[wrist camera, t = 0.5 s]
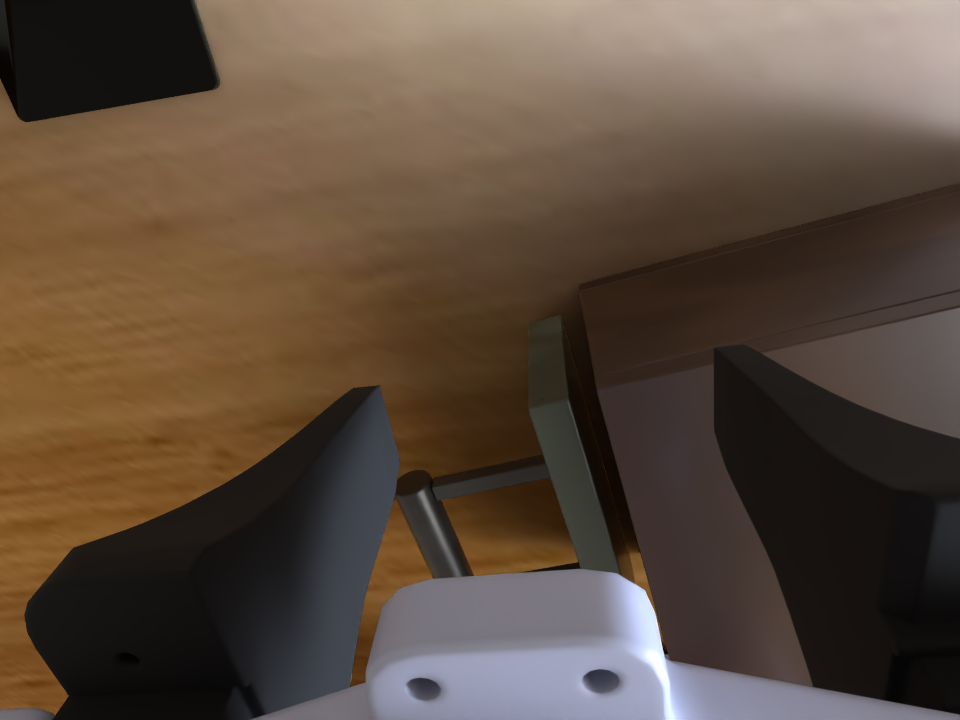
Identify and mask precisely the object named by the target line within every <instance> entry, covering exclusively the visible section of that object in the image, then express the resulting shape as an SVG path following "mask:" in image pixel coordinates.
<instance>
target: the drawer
mask: <svg viewBox="0 0 960 720" xmlns="http://www.w3.org/2000/svg"><path fill="white" fill-rule="evenodd" d="M528 411H529V414H530V417H531V420H532V423H533V426H534V429H535V432H536V435H537V438H538V441H539V445H540V448H541V451H542V454H543V455H538V456H533V457H529V458H524V459H519V460H515V461H510V462H505V463H501V464H496V465H491V466H487V467H482V468H477V469H473V470H468V471H463V472H459V473H454V474H449V475H444V476H440V477H435V478H434V479H433V480H432V478H431V475H430V474H429V473H428V472H427V471H424V470H414V471H411V472H408V473H406V474H404V475H402V476H401V477H400V478H399V479H397V485H396V491H395V499H396V501H397V503H398V505H399V507H400V509H401V511H402V513H403V515H404V518H405V520H406V522H407V524H408V526H409V528H410V530H411V532H412V535H413V537H414V539H415V541H416V543H417V545H418V547H419V549H420V551H421V554H422V556H423V558H424V560H425V562H426V564H427V566H428V568H429V570H430V573H431V575H432V577H433V579H439V578H454V577H468V576H474V575H473V572H472V570H471V568H470V565H469V563H468V561H467V558H466V556H465V554H464V552H463V549H462V547H461V545H460V542H459V540H458V538H457V535H456V533H455V531H454V529H453V526H452V524H451V522H450V519H449V517H448V515H447V512H446V510H445V508H444V505H443V503H442V501H441V500H444V499H449V498H454V497H459V496H463V495H468V494H473V493H478V492H483V491H488V490H492V489H497V488H502V487H507V486H512V485H517V484H522V483H526V482H531V481H536V480H541V479H546V478H551V481H552V484H553V487H554V490H555V493H556V496H557V499H558V502H559V505H560V508H561V511H562V514H563V517H564V520H565V523H566V526H567V529H568V532H569V535H570V538H571V541H572V544H573V547H574V550H575V553H576V556H577V559H578V562H577V563H571V564H566V565H560V566H555V567H549V568H543V569H538V570H532V571H526V572H521V573H527V572H541V571H556V570H570V569H587V570H595V571H603V572H611V573H617V574H619V575H620V576H622V577H624V578H625V579H627V580H629V581H630V582H632V583H634V584H635V580H634V574H633V569H632V563H631V560H630V556H629V553H628V549H627V546H626V542H625V539H624V535H623V532H622V528H621V524H620V521H619V517H618V514H617V510H616V507H615V503H614V500H613V496H612V493H611V489H610V486H609V482H608V479H607V475H606V472H605V468H604V464H603V461H602V457H601V454H600V450H599V447H598V443H597V440H596V436H595V433H594V429H593V426H592V422H591V419H590V415H589V412H588V408H587V404H586V401H585V397H584V394H583V390H582V387H581V383H580V380H579V376H578V373H577V369H576V366H575V362H574V359H573V355H572V352H571V348H570V344H569V341H568V337H567V334H566V330H565V327H564V323H563V320H562V317H561V316H560V315H559V316H555V317H551V318H547V319H543V320H539V321H535V322H531V323H529V338H528Z"/></svg>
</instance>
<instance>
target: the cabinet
mask: <svg viewBox="0 0 960 720" xmlns="http://www.w3.org/2000/svg"><path fill="white" fill-rule="evenodd" d="M579 292H580V298H581V304H582V310H583V316H584V321H585V327H586V333H587V339H588V345H589V351H590V356H591V362H592V368H593V374H594V380H595V386H596V391H597V395H598V399H599V402H600V406H601V410H602V413H603V417H604V421H605V424H606V428H607V432H608V435H609V439H610V443H611V446H612V450H613V454H614V457H615V461H616V465H617V469H618V472H619V476H620V480H621V483H622V487H623V491H624V494H625V498H626V502H627V505H628V509H629V513H630V516H631V520H632V524H633V527H634V531H635V535H636V538H637V542H638V546H639V549H640V553H641V557H642V560H643V564H644V568H645V571H646V575H647V579H648V582H649V586H650V590H651V593H652V597H653V601H654V604H655V608H656V612H657V615H658V619H659V623H660V626H661V630H662V634H663V637H664V641H665V645H666V648H667V652H668V656H669V659H670V660H671V661H676V662H681V663H687V664H692V665H697V666H703V667H708V668H714V669H719V670H724V671H730V672H735V673H740V674H746V675H751V676H756V677H762V678H767V679H772V680H778V681H783V682H788V683H794V684H799V685H804V686H810V687H813V685H812V681H811V678H810V675H809V672H808V668H807V665H806V662H805V659H804V656H803V653H802V650H801V647H800V644H799V641H798V638H797V635H796V632H795V629H794V626H793V623H792V620H791V617H790V614H789V611H788V608H787V605H786V602H785V599H784V596H783V594H782V591H781V588H780V585H779V582H778V579H777V577H776V574H775V571H774V569H773V566H772V564H771V562H770V559H769V557H768V555H767V552H766V550H765V548H764V546H763V544H762V542H761V540H760V538H759V536H758V534H757V532H756V530H755V528H754V526H753V524H752V522H751V519H750V517H749V515H748V513H747V511H746V509H745V507H744V505H743V503H742V501H741V499H740V497H739V495H738V493H737V491H736V489H735V487H734V484H733V482H732V480H731V478H730V476H729V474H728V472H727V470H726V467H725V464H724V461H723V458H722V455H721V452H720V449H719V445H718V442H717V439H716V435H715V432H714V348H716V347H725V346H734V345H743V344H745V345H747V346H749V347H751V348H753V349H755V350H756V351H758V352H760V353H762V354H763V355H765V356H767V357H769V358H770V359H772V360H774V361H775V362H777V363H779V364H780V365H782V366H784V367H786V368H787V369H789V370H791V371H793V372H794V373H796V374H798V375H800V376H801V377H803V378H805V379H807V380H809V381H811V382H812V383H814V384H816V385H818V386H820V387H822V388H824V389H826V390H828V391H830V392H832V393H834V394H836V395H839V396H841V397H843V398H845V399H847V400H849V401H851V402H853V403H856V404H858V405H860V406H863V407H865V408H867V409H870V410H873V411H875V412H878V413H881V414H883V415H886V416H888V417H891V418H894V419H896V420H899V421H902V422H905V423H908V424H911V425H914V426H917V427H921V428H924V429H927V430H931V431H934V432H938V433H941V434H945V435H948V436H952V437H955V438H959V439H960V183H959V184H955V185H952V186H948V187H944V188H940V189H937V190H933V191H929V192H925V193H921V194H918V195H914V196H910V197H906V198H903V199H899V200H895V201H891V202H887V203H884V204H880V205H876V206H872V207H869V208H865V209H861V210H857V211H854V212H850V213H846V214H842V215H838V216H835V217H831V218H827V219H823V220H820V221H816V222H812V223H808V224H805V225H801V226H797V227H793V228H789V229H786V230H782V231H778V232H774V233H771V234H767V235H763V236H759V237H755V238H752V239H748V240H744V241H740V242H737V243H733V244H729V245H725V246H722V247H718V248H714V249H710V250H706V251H703V252H699V253H695V254H691V255H688V256H684V257H680V258H676V259H673V260H669V261H665V262H661V263H657V264H654V265H650V266H646V267H642V268H639V269H635V270H631V271H627V272H623V273H620V274H616V275H612V276H608V277H605V278H601V279H597V280H593V281H590V282H586V283H582V284H579Z"/></svg>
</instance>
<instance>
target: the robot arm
mask: <svg viewBox="0 0 960 720" xmlns="http://www.w3.org/2000/svg"><path fill="white" fill-rule="evenodd" d="M714 432H715V435H716V439H717V442H718V445H719V449H720V452H721V455H722V458H723V461H724V464H725V467H726V470H727V472H728V474H729V476H730V478H731V480H732V482H733V484H734V487H735V489H736V491H737V493H738V495H739V497H740V499H741V501H742V503H743V505H744V507H745V509H746V511H747V513H748V515H749V517H750V519H751V522H752V524H753V526H754V528H755V530H756V532H757V534H758V536H759V538H760V540H761V542H762V544H763V546H764V548H765V550H766V552H767V555H768V557H769V559H770V562H771V564H772V566H773V569H774V571H775V574H776V577H777V579H778V582H779V585H780V588H781V591H782V594H783V596H784V599H785V602H786V605H787V608H788V611H789V614H790V617H791V620H792V623H793V626H794V629H795V632H796V635H797V638H798V641H799V644H800V647H801V650H802V653H803V656H804V659H805V662H806V665H807V668H808V672H809V675H810V678H811V681H812V685H813V687H810V686H804V685H799V684H794V683H788V682H783V681H778V680H772V679H767V678H762V677H756V676H751V675H746V674H740V673H735V672H730V671H724V670H719V669H714V668H708V667H703V666H697V665H692V664H687V663H681V662H676V661H671V660H670V659H669V656H668V654H666V655H664V653H663V648H662V643H661V638H660V633H659V628H658V624H657V619H656V614H655V612H654V610H653V607H652V605H651V603H650V601H649V599H648V597H647V594H646V592H645V590H643V589H642V588H640V587H639V586H637V585H635V584H634V583H632V582H630V581H629V580H627V579H625V578H624V577H622V576H620V575H619V574H617V573H611V572H603V571H595V570H587V569H570V570H556V571H541V572H527V573H512V574H497V575H483V576H468V577H454V578H439V579H430V580H426V581H423V582H419V583H416V584H412V585H409V586H405V587H402V588H400V589H399V590H398V591H397V592H396V593H395V594H394V595H393V596H392V597H391V598H390V599H389V600H388V601H387V602H386V603H385V604H384V605H383V606H382V609H381V613H380V617H379V621H378V625H377V629H376V633H375V637H374V641H373V645H372V649H371V653H370V657H369V661H368V665H367V669H366V682H365V683H362V684H359V685H356V686H353V687H350V682H351V676H352V670H353V663H354V657H355V651H356V644H357V638H358V633H359V627H360V622H361V616H362V611H363V606H364V600H365V596H366V592H367V588H368V584H369V580H370V577H371V573H372V570H373V567H374V564H375V560H376V557H377V554H378V551H379V547H380V544H381V541H382V538H383V534H384V531H385V528H386V525H387V521H388V518H389V515H390V511H391V508H392V504H393V501H394V497H395V491H396V485H397V478H398V471H399V463H400V458H399V454H398V451H397V447H396V443H395V440H394V436H393V432H392V429H391V425H390V422H389V418H388V414H387V411H386V407H385V403H384V400H383V396H382V392H381V389H380V385H377V386H368V387H359V388H353V389H351V390H350V391H348V392H347V393H346V394H344V395H343V396H342V397H340V398H339V399H338V400H337V401H335V402H334V403H333V404H332V405H331V406H329V407H328V408H327V409H326V410H325V411H323V412H322V413H321V414H320V415H319V416H318V417H316V418H315V419H314V420H313V421H312V422H310V423H309V424H308V425H307V426H306V427H304V428H303V429H302V430H301V431H299V432H298V433H297V434H296V435H294V436H293V437H292V438H290V439H289V440H288V441H286V442H285V443H284V444H283V445H281V446H280V447H279V448H277V449H276V450H275V451H273V452H272V453H271V454H269V455H268V456H267V457H265V458H264V459H262V460H261V461H260V462H258V463H257V464H255V465H254V466H252V467H251V468H249V469H248V470H246V471H244V472H243V473H241V474H240V475H238V476H236V477H235V478H233V479H232V480H230V481H228V482H226V483H225V484H223V485H221V486H219V487H217V488H215V489H214V490H212V491H210V492H208V493H206V494H204V495H202V496H200V497H198V498H197V499H195V500H193V501H191V502H189V503H187V504H185V505H183V506H181V507H179V508H176V509H174V510H172V511H170V512H168V513H166V514H163V515H161V516H159V517H156V518H154V519H151V520H149V521H147V522H144V523H142V524H139V525H137V526H134V527H132V528H129V529H127V530H124V531H121V532H118V533H115V534H112V535H109V536H107V537H104V538H101V539H98V540H95V541H92V542H89V543H86V544H83V545H80V546H77V547H74V548H73V549H72V550H71V551H70V552H69V553H68V555H67V556H66V557H65V558H64V559H63V561H62V562H61V563H60V564H59V565H58V567H57V568H56V569H55V570H54V571H53V572H52V574H51V575H50V576H49V577H48V578H47V580H46V581H45V582H44V583H43V584H42V586H41V587H40V588H39V589H38V590H37V592H36V593H35V594H34V595H33V596H32V598H31V599H30V600H29V601H28V603H27V607H26V611H25V615H24V616H25V622H26V629H27V632H28V635H29V637H30V639H31V641H32V642H33V644H34V646H35V648H36V650H37V651H38V652H39V654H40V655H41V657H42V658H43V660H44V661H45V662H46V664H47V665H48V667H49V668H50V669H51V671H52V672H53V674H54V675H55V677H56V678H57V679H58V681H59V682H60V684H61V685H62V687H63V688H64V689H65V691H66V692H67V694H68V695H69V697H68V698H67V700H66V701H65V703H64V704H63V706H62V707H61V708H60V710H59V711H58V713H57V714H56V715H54V714H53V713H51V712H49V711H47V710H44V709H39V708H16V709H0V720H960V439H959V438H955V437H952V436H948V435H945V434H941V433H938V432H934V431H931V430H927V429H924V428H921V427H917V426H914V425H911V424H908V423H905V422H902V421H899V420H896V419H894V418H891V417H888V416H886V415H883V414H881V413H878V412H875V411H873V410H870V409H867V408H865V407H863V406H860V405H858V404H856V403H853V402H851V401H849V400H847V399H845V398H843V397H841V396H839V395H836V394H834V393H832V392H830V391H828V390H826V389H824V388H822V387H820V386H818V385H816V384H814V383H812V382H811V381H809V380H807V379H805V378H803V377H801V376H800V375H798V374H796V373H794V372H793V371H791V370H789V369H787V368H786V367H784V366H782V365H780V364H779V363H777V362H775V361H774V360H772V359H770V358H769V357H767V356H765V355H763V354H762V353H760V352H758V351H756V350H755V349H753V348H751V347H749V346H747V345H745V344H743V345H734V346H725V347H716V348H714Z"/></svg>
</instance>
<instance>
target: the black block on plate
mask: <svg viewBox="0 0 960 720" xmlns="http://www.w3.org/2000/svg"><path fill="white" fill-rule="evenodd" d="M0 79H1V81H2V83H3V85H4V88H5V90H6V92H7V94H8V96H9V99H10V101H11V103H12V105H13V107H14V109H15V112H16V114H17V116H18V117H19V118H20V119H21V120H22V121H24V122H31V121H37V120H43V119H48V118H54V117H60V116H66V115H71V114H77V113H83V112H89V111H94V110H100V109H106V108H112V107H117V106H123V105H129V104H135V103H140V102H146V101H152V100H158V99H163V98H169V97H175V96H181V95H186V94H192V93H198V92H204V91H209V90H214V89H217V88H218V87H219V85H220V79H219V76H218V73H217V70H216V67H215V63H214V60H213V57H212V54H211V51H210V48H209V44H208V41H207V38H206V35H205V32H204V29H203V25H202V22H201V19H200V16H199V13H198V10H197V6H196V3H195V0H0Z"/></svg>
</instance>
